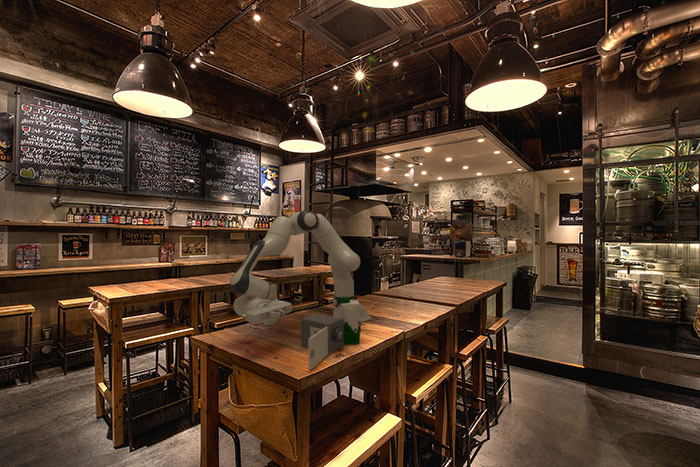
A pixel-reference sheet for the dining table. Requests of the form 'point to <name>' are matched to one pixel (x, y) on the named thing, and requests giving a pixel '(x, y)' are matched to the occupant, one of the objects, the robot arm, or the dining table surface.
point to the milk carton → (350, 320)
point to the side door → (318, 347)
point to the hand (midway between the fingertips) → (282, 314)
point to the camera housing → (317, 323)
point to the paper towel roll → (272, 296)
